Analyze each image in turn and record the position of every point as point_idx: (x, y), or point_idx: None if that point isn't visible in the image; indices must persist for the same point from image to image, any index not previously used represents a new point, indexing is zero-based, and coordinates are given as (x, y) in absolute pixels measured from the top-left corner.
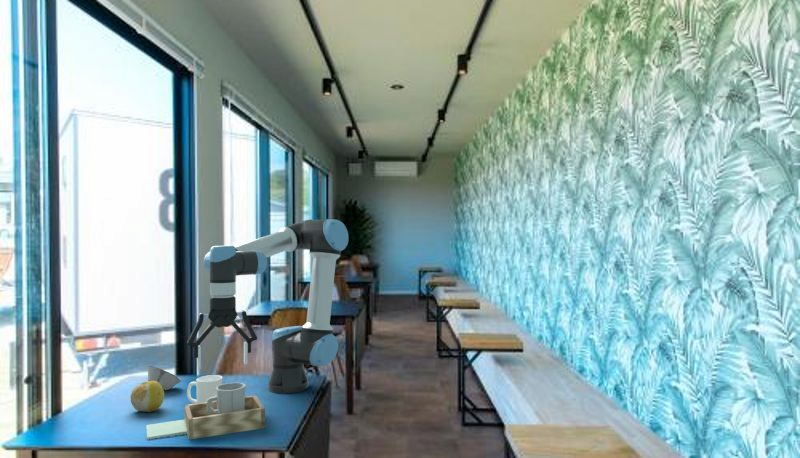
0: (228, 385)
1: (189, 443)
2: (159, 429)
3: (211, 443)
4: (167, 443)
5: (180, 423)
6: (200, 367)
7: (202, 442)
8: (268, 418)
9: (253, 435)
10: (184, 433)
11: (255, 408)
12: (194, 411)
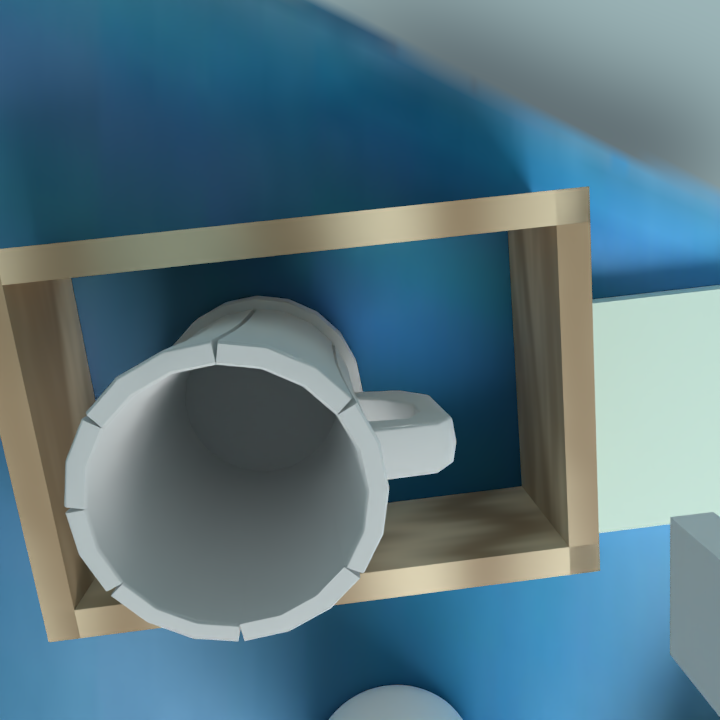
0: (254, 606)
1: (528, 150)
2: (706, 402)
3: (395, 93)
4: (653, 203)
5: None
6: (694, 529)
7: (450, 136)
8: None
9: (117, 138)
10: None
11: None
12: (513, 527)
